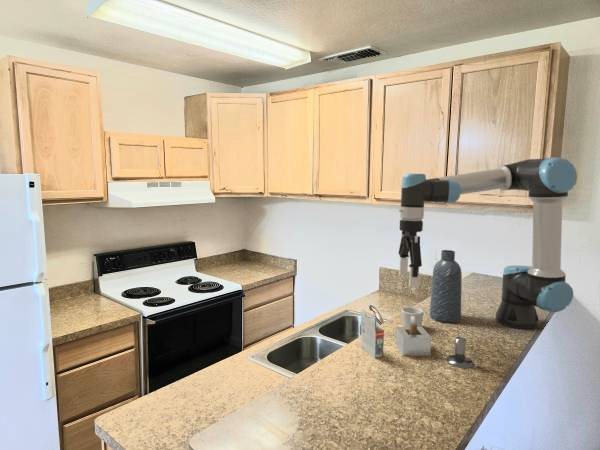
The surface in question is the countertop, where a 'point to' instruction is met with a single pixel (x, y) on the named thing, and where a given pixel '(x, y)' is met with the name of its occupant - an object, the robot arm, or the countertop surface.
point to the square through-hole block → (413, 341)
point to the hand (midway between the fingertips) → (408, 280)
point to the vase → (446, 289)
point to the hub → (460, 355)
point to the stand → (413, 329)
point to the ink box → (371, 336)
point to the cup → (412, 316)
